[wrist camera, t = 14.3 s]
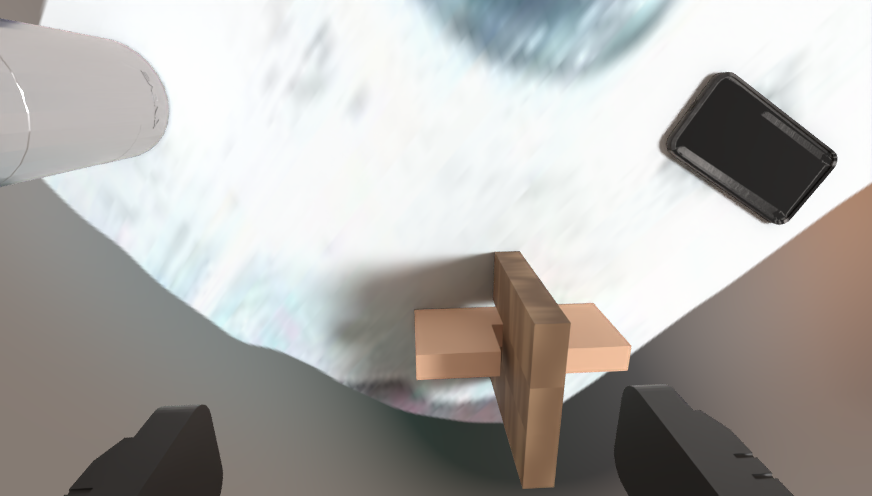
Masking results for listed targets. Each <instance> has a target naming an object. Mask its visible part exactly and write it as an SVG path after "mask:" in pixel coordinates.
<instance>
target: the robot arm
mask: <svg viewBox="0 0 872 496" xmlns="http://www.w3.org/2000/svg"><path fill="white" fill-rule="evenodd" d="M168 118H169V105H168V98H167V95H166V91H165V88H164V86H163V84H162V82H161V80H160V78H159V76H158V74H157V73H156V72H155V70H154V69H153V68H152V66H151V65H150V64H149V63H148V62H147V61H146V60H145V59H144V58H143V57H142V56H141V55H140V54H139V53H137V52H135V51H134V50H132V49H131V48H129V47H128V46H126V45H124V44H121V43H119V42H117V41H114V40H110V39H105V38H100V37H95V36H90V35H85V34H80V33H75V32H71V31H65V30H60V29H55V28H49V27H44V26H39V25H33V24H27V23H22V22H17V21H12V20H6V19H1V18H0V187H3V186H7V185H11V184H16V183H21V182H25V181H29V180H34V179H38V178H42V177H47V176H51V175H56V174H60V173H64V172H69V171H73V170H78V169H82V168H86V167H91V166H95V165H100V164H105V163H109V162H113V161H117V160H122V159H126V158H130V157H134V156H139V155H141V154H143V153H145V152H147V151H149V150H150V149H152V148H153V147H154V146H155V145H156V144H157V143H158V142H159V141H160V139H161V138H162V136H163V135H164V132H165V130H166V127H167V124H168ZM614 458H615V465H616V469H617V473H618V475H619V478H620V481H621V483H622V485H623V486H624V488H625V490H626V492H627V494H628V496H794V495H793V494H792V493H791V492H790V491H789V490H788V489H787V488H786V487H785V486H784V485H783V484H782V483H781V482H780V481H779V480H778V479H776V478H775V479H774V478H773V477H772V473H771V471H769V469H768V468H767V467H766V466H765V465H764V464H763V463H762V462H761V461H760V460H759V459H758V458H754V457H753V455H752V452H751V451H750V450H749V449H748V448H747V447H746V446H745V445H744V444H743V442H741V440H740V439H739V438H738V437H737V436H736V435H735V434H734V433H733V432H732V431H731V430H730V429H729V428H727V427H725V426H724V425H723V424H721V423H719V422H718V421H716V420H715V419H713V418H712V417H710V416H708V415H707V414H706V413H704V412H702V411H701V410H695V411H693V409H692V408H691V407H690V406H689V405H688V404H687V403H686V402H685V401H684V400H683V399H682V397H680V395H679V394H678V393H677V392H676V391H675V390H674V389H673V388H672V387H671V386H669V385H667V384H658V385H639V386H638V385H637V386H627V387H626V388H625V389H624V392H623V395H622V400H621V407H620V413H619V420H618V426H617V433H616V439H615V445H614ZM222 481H223V470H222V464H221V459H220V454H219V450H218V445H217V441H216V436H215V431H214V427H213V422H212V417H211V413H210V410H209V408H208V407H207V406H206V405H186V406H185V405H184V406H164V407H160V408H158V409H157V410H156V411H155V412H154V413H153V414H152V415H151V416H150V418H149V419H148V420H147V421H146V423H145V424H144V425H143V427H142V428H141V429H140V430H139V431H138V433H137V434H136V435H135V436H134V437H133V438H132V437H131V438H124V439H123V440H121V441H120V442H119V443H117V444H116V445H114V446H113V447H112V448H110V449H109V450H108V451H106V452H105V453H104V454H102V455H101V456H100V457H98V458H97V459H96V460H94V461H93V462H92V463H91V464H90V466H89V467H88V468H87V469H86V470H85V471H84V473H83V474H82V475H81V476H80V477H79V478H78V480H77V481H76V482H75V483H74V484H73V486H72V487H71V488H70V489H69V494H68V495H64V496H220V494H221V489H222Z"/></svg>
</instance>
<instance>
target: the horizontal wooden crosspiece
mask: <svg viewBox="0 0 872 496" xmlns="http://www.w3.org/2000/svg"><path fill="white" fill-rule="evenodd" d="M558 306H559V307H560V308H561V310H562V311H563V313H564V314H565V315H566V317H567V318H568V320H569V321H570V322H571V327H570V336H569V346H568V356H567V365H566V373H583V372H605V371H627V370H628V365H629V358H630V352H631V345H630V344H629V343H628V342H627V340H626V339H625V338H624V337H623V336H622V335H621V334H620V333H619V331H618V330H617V329H616V328H615V327H614V326H613V325H612V324H611V322H610V321H609V320H608V319H607V318H606V317H605V316H604V315H603V313H602V312H601V311H600V310H599V309H598V308H597V307H596V306H595V304H594V303H587V304H560V305H558ZM414 313H415V347H416V378H417V380H428V379H450V378H472V377H494V376H500V364H501V350H500V347H502V341H503V323H502V320H501V318H500V315H499V313H498V311H497V308H496V307H477V308H450V309H422V310H414Z"/></svg>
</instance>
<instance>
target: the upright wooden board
mask: <svg viewBox="0 0 872 496" xmlns="http://www.w3.org/2000/svg"><path fill="white" fill-rule="evenodd" d="M493 301H494V303H495V306H496V308H497V311H498V313H499V315H500V318H501V320H502V323H503V341H502V347H500V350H501V364H500V376H494V377H490V379H491V382H492V385H493V389H494V392H495V396H496V399H497V403H498V406H499V409H500V413H501V416H502V420H503V423H504V426H505V430H506V433H507V437H508V440H509V443H510V447H511V450H512V454H513V457H514V461H515V464H516V468H517V471H518V474H519V478H520V481H521V485H522V488H523V489H525V488H543V487H554V481H555V471H556V462H557V452H558V442H559V433H560V423H561V413H562V404H563V394H564V385H565V375H566V365H567V356H568V346H569V336H570V327H571V322H570V321H569V320H568V318H567V317H566V315H565V314H564V313H563V311H562V310H561V308H560V307H559V306H558V304H557V303H556V301H555V300H554V299H553V297H552V296H551V294H550V293H549V292H548V290H547V289H546V287H545V286H544V285H543V283H542V282H541V280H540V279H539V278H538V276H537V275H536V274H535V272H534V271H533V269H532V268H531V267H530V265H529V264H528V262H527V261H526V260H525V258H524V257H523V255H522V254H521V253H520V251H514V252H495V258H494V284H493Z"/></svg>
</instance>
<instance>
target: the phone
mask: <svg viewBox="0 0 872 496" xmlns="http://www.w3.org/2000/svg"><path fill="white" fill-rule="evenodd" d="M697 101H698V102H697ZM696 102H697V103H696ZM695 104H696V105H695ZM694 105H695V106H694ZM693 106H694V107H693ZM692 108H693V109H692ZM691 109H692V110H691ZM667 149H668V151H669V152H670V153H671V154H672V155H674V156H675V157H676V158H678V159H679V160H681V161H682V162H684V163H685V164H687V165H688V166H689V167H691V168H692V169H694V170H695V171H697V172H698V173H699V174H701V175H702V176H704V177H705V178H707V179H708V180H710V181H711V182H712V183H714V184H715V185H717V186H718V187H720V188H721V189H722V190H724V191H725V192H727V193H728V194H730V195H731V196H733V197H734V198H735V199H737V200H738V201H740V202H741V203H743V204H744V205H746V206H747V207H748V208H750V209H751V210H753V211H754V212H756V213H757V214H758V215H760V216H761V217H763V218H764V219H766V220H767V221H769V222H771V223H774V224H778V225H781V224H785V223H786V222H788V221H789V220H790V219H791V218H792V217H793V216H794V215H795V214H796V212H797V211H798V210H799V209H800V208H801V207H802V205H803V204H804V203H805V202H806V201H807V199H808V198H809V197H810V196H811V195H812V194H813V192H814V191H815V190H816V189H817V188H818V187H819V185H820V184H821V183H822V182H823V181H824V179H825V178H826V177H827V176H828V175H829V174H830V172H831V171H832V170H833V169H834V167H835V166H836V163H837V154H836V153H835V152H834V151H833V150H832V149H830V148H829V147H828V146H827V145H825V144H824V143H823V142H821V141H820V140H819V139H818V138H816V137H815V136H814V135H812V134H811V133H810V132H809V131H807V130H806V129H805V128H804V127H802V126H801V125H800V124H798V123H797V122H796V121H795V120H793V119H792V118H791V117H789V116H788V115H787V114H786V113H784V112H783V111H782V110H781V109H779V108H778V107H777V106H775V105H774V104H773V103H772V102H770V101H769V100H768V99H766V98H765V97H764V96H763V95H761V94H760V93H759V92H758V91H756V90H755V89H754V88H752V87H751V86H750V85H749V84H747V83H746V82H745V81H743V80H742V79H741V78H740V77H738V76H737V75H736V74H734V73H732V72H723V73H718V74H716V75H715V76H713V77H712V78H711V79H710V81H709V82H708V84H707V85H706V86H705V88H704V89H703V90H702V92H701V93H700V95H699V96H698V97H697V99H696V100H695V101H694V103H693V104H692V105H691V107H690V108H689V110H688V111H687V112H686V114H685V115H684V116H683V118H682V119H681V121H680V122H679V123H678V125H677V126H676V127H675V129H674V130H673V132H672V133H671V134H670V136H669V138H668V139H667Z"/></svg>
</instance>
